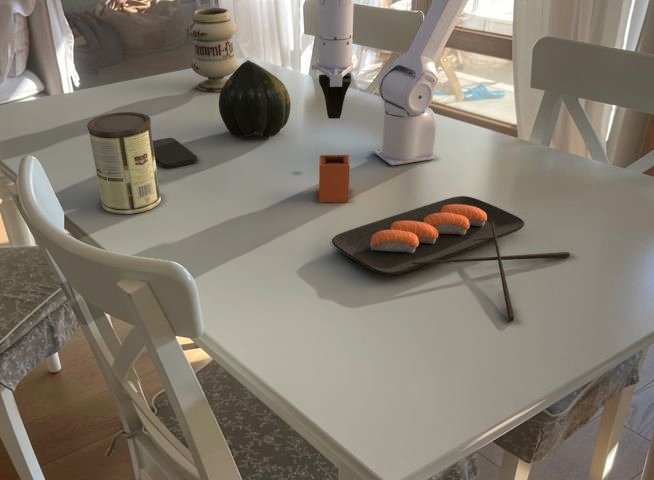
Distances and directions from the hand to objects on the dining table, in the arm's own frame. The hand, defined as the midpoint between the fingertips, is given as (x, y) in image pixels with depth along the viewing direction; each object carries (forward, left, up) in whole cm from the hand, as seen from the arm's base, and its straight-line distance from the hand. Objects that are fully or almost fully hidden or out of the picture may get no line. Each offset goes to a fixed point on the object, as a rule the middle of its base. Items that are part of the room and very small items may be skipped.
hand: (334, 117), depth 128 cm
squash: (+7, -26, -10) cm, 29 cm away
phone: (+27, -20, -10) cm, 35 cm away
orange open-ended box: (+4, +9, -7) cm, 12 cm away
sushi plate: (-4, +41, -10) cm, 42 cm away
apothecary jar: (+5, -65, -10) cm, 66 cm away
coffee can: (+38, +1, -10) cm, 40 cm away
